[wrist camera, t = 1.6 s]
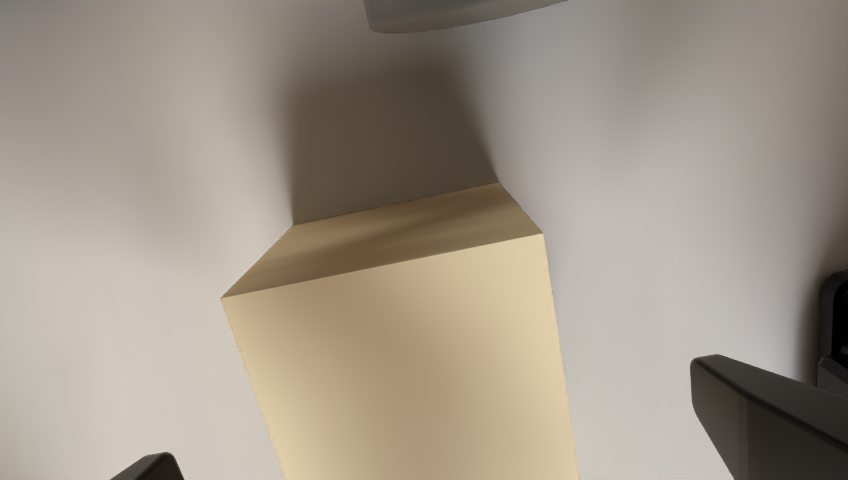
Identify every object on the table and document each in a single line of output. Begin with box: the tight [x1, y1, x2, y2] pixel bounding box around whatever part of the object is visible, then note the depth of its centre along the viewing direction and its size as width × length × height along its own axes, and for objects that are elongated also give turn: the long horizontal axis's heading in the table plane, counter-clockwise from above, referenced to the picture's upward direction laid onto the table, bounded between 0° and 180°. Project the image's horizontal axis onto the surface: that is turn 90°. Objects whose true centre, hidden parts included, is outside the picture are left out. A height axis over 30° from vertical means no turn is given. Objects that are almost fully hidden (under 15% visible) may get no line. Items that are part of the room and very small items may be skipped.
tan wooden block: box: [220, 182, 580, 480], centre depth 10 cm, size 5×6×4 cm
